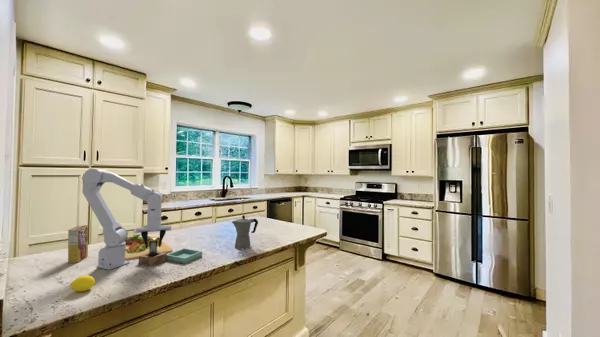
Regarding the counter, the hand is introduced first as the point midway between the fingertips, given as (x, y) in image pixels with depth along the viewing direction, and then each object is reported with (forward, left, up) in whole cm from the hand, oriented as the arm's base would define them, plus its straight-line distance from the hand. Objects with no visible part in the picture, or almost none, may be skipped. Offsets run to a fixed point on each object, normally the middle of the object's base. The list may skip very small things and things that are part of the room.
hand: (153, 247), depth 120 cm
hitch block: (0, 0, -7) cm, 7 cm away
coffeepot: (+39, -25, -7) cm, 47 cm away
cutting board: (+13, +24, -8) cm, 28 cm away
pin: (0, 0, -5) cm, 5 cm away
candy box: (-12, +33, -7) cm, 36 cm away
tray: (+10, -9, -7) cm, 15 cm away
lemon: (-30, -2, -7) cm, 31 cm away
